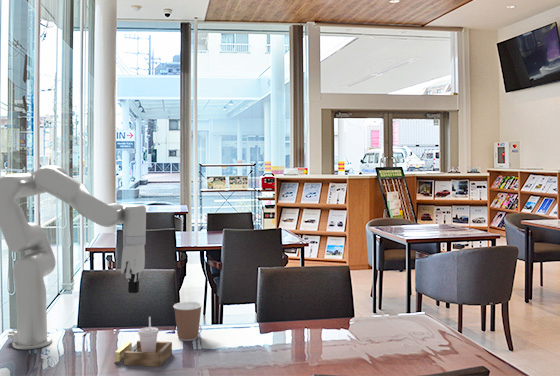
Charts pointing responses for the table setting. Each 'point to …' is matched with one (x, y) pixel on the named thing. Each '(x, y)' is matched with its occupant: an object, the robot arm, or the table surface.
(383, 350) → the table surface
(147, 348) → the smoothie
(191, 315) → the coffee cup
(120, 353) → the lock bar
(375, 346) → the table surface
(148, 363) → the cradle
